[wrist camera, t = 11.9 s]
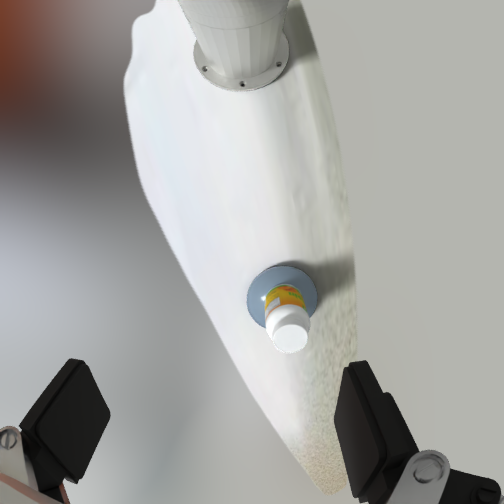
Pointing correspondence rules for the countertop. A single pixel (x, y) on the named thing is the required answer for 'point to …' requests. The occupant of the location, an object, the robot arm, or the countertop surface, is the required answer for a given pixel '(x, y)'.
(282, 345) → the supplement bottle
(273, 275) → the pale blue round plate
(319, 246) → the countertop surface
